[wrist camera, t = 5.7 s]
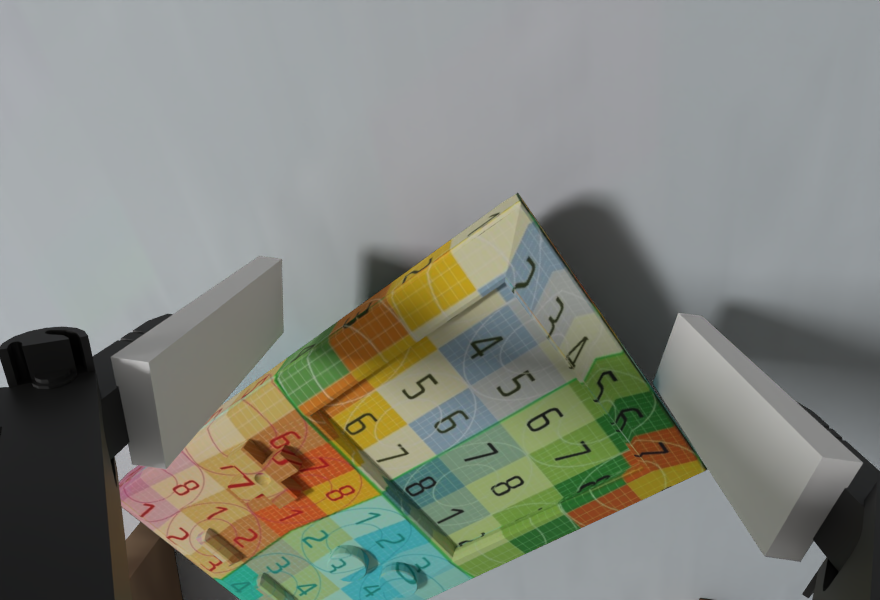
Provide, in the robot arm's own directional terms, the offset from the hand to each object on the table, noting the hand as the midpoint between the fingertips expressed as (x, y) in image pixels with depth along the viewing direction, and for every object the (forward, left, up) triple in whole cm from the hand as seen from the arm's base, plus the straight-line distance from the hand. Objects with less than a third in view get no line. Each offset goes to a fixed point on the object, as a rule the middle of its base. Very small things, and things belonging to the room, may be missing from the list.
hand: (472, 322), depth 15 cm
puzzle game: (+2, +7, -3) cm, 8 cm away
